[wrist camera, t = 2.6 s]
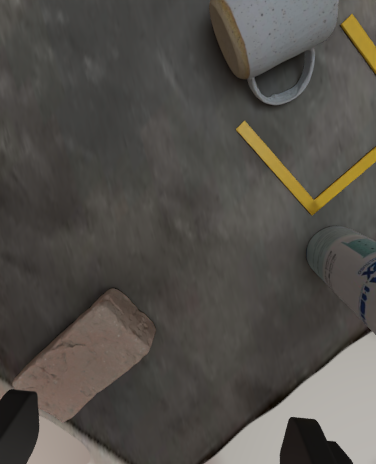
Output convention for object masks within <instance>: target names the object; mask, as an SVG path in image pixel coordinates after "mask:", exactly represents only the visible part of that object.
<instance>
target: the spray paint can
mask: <svg viewBox="0 0 376 464" xmlns="http://www.w3.org/2000/svg"><path fill="white" fill-rule="evenodd" d="M306 257H307V261H308V263H309V265H310V267H311V268H312V270H313V271H314V272H315V273H316V274H317V275H318V276H319V277H320V278H321V279H322V280H323V281H324V282H325V283H326V284H327V285H328V286H329V287H330V288H331V289H332V290H333V291H334V292H335V293H336V294H337V295H338V296H339V297H340V299H341V300H342V301H343V302H344V303H345V304H346V305H347V306H348V307H349V308H350V309H351V310H352V311H353V312H354V313H355V314H356V315H357V316H358V317H359V318H360V319H361V320H362V321H363V322H364V323H365V324H366V325H367V326H368V327H369V328H370V329H371V330H372V331H373V332H374V333H375V335H376V241H374V240H372V239H370V238H368V237H366V236H364V235H362V234H360V233H358V232H356V231H354V230H351V229H349V228H347V227H342V226H331V227H327V228H324V229H322V230H320V231H319V232H317V233H316V234H315V235H314V236H313V237H312V239H311V240H310V242H309V244H308V246H307V250H306Z"/></svg>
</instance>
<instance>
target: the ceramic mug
mask: <svg viewBox="0 0 376 464" xmlns="http://www.w3.org/2000/svg"><path fill="white" fill-rule="evenodd" d="M338 4H339V1H338V0H210V5H209V10H210V17H211V22H212V25H213V29H214V32H215V35H216V38H217V41H218V44H219V46H220V49H221V51H222V53H223V56H224V58H225V60H226V62H227V64H228V66H229V67H230V69H231V70H232V72H233V73H234V75H235V76H237V77H238V78H241V79H247V80H248V84H249V86H250V88H251V90H252V91H253V93H254V95H255V96H256V97H257V98H258V99H260V100H261V101H262V102H264V103H266V104H269V105H281V104H284V103H287V102H289V101H292V100H293V99H295V98H296V97H298V96H299V95H300V94H301V93H302V92H303V91H304V89H305V88H306V86H307V85H308V83H309V81H310V78H311V75H312V72H313V68H314V61H315V47H316V45H318V44H320V43H322V42H324V41H326V40H327V39H328V38H329V37H330V36H331V34H332V33H333V30H334V28H335V25H336V21H337V15H338ZM304 51H305V61H304V68H303V73H302V75H301V77H300V79H299V81H298V83H297V84H296V85H295V86H294V87H293V88H291V89H289V90H287V91H284V92H282V93H279V94H273V95H271V96H270V97H265V96H264V95H262V94H261V93H260V91H259V89H258V87H257V85H256V82H255V76H258V75H260V74H262V73H264V72H266V71H268V70H270V69H271V68H273V67H275V66H277V65H278V64H280V63H282V62H284V61H286V60H288V59H290V58H293V57H295V56H297V55H299V54H300V53H302V52H304Z"/></svg>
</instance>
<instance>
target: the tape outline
mask: <svg viewBox="0 0 376 464" xmlns="http://www.w3.org/2000/svg"><path fill="white" fill-rule="evenodd" d="M340 26H341V27H342V29H343V30H344V31H345V33H346V34H347V35H348V37H349V38H350V40H351V41H352V42H353V44H354V45H355V46H356V48H357V49H358V51H359V52H360V53H361V55H362V56H363V57H364V59H365V60H366V62H367V63H368V64H369V66H370V67H371V68H372V70H373V71H374V73H375V74H376V47H375V45H374V44H373V42H372V41H371V39H370V38H369V37H368V35H367V34H366V32H365V31H364V30H363V28H362V27H361V25H360V24H359V23H358V21H357V20H356V18H355V17H354V16H353V14H351V15H350V16H349V17H348V18H347V19H346V20H345V21H344V22H343V23H342V24H341V25H340ZM236 131H237V132H238V133H239V134H240V135H241V136H242V137H243V138H244V140H245V141H246V142H247V143H248V144H249V145H250V146H251V147H252V149H253V150H254V151H255V152H256V153H257V154H258V155H259V157H260V158H261V159H262V160H263V161H264V162H265V163H266V164H267V166H268V167H269V168H270V169H271V170H272V171H273V172H274V173H275V175H276V176H277V177H278V178H279V179H280V180H281V181H282V183H283V184H284V185H285V186H286V187H287V188H288V189H289V190H290V192H291V193H292V194H293V195H294V196H295V197H296V198H297V199H298V201H299V202H300V203H301V204H302V205H303V206H304V207H305V209H306V210H307V211H308V212H309V213H310V214H311V215H313V214H315V213H316V212H317V211H318V210H319V209H320V208H322V207H323V206H324V205H325V204H326V203H328V202H329V201H330V200H331V199H332V198H333V197H335V196H336V195H337V194H338V193H339V192H340V191H342V190H343V189H344V188H345V187H346V186H348V185H349V184H350V183H351V182H352V181H353V180H355V179H356V178H357V177H358V176H359V175H360V174H362V173H363V172H364V171H365V170H366V169H368V168H369V167H370V166H371V165H372V164H373V163H375V162H376V146H375V147H374V148H373V149H372V150H371V151H370V152H369V153H367V154H366V155H365V156H364V157H363V158H362V159H360V160H359V161H358V162H357V163H356V164H355V165H353V166H352V167H351V168H350V169H349V170H348V171H346V172H345V173H344V174H343V175H342V176H341V177H340V178H338V179H337V180H336V181H335V182H334V183H333V184H331V185H330V186H329V187H328V188H327V189H326V190H324V191H323V192H322V193H321V194H320V195H319V196H317V197H316V198H315V199H314V200H313V199H312V197H311V196H310V195H309V194H308V193H307V192H306V190H305V189H304V188H303V187H302V186H301V185H300V184H299V182H298V181H297V180H296V179H295V178H294V177H293V176H292V174H291V173H290V172H289V171H288V170H287V169H286V168H285V166H284V165H283V164H282V163H281V162H280V161H279V159H278V158H277V157H276V156H275V155H274V154H273V153H272V151H271V150H270V149H269V148H268V147H267V146H266V145H265V143H264V142H263V141H262V140H261V139H260V138H259V136H258V135H257V134H256V133H255V132H254V131H253V130H252V128H251V127H250V126H249V125H248V124H247V123H246V122H245V121H244V122H243V123H242V124H241V125H240V126H239V127H238V128H237V129H236Z"/></svg>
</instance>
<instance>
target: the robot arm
mask: <svg viewBox="0 0 376 464" xmlns="http://www.w3.org/2000/svg"><path fill="white" fill-rule="evenodd" d="M38 433H39V413H38V396H37V393H36V392H35V391H25V390H15V389H11V390H9V391H8V392H6V394H5V395H4V396H3V397H2V399H1V400H0V464H26V463H27V461H28V459H29V457H30V456H31V454H32V452H33V449H34V447H35V444H36V441H37V438H38ZM280 464H353V462H352V461H351V459H350V458H349V457H348V456H347V455H346V453H345V452H344V451H343V450H342V449H341V448H340V446H339V445H338V444H337V443H336V442H333V441H327V440H326V438H325V436H324V433H323V431H322V429H321V427H320V425H319V423H318V422H317V421H316V420H315V419H306V418H296V417H291V418H290V419H289V421H288V424H287V428H286V432H285V436H284V440H283V444H282V447H281V451H280Z"/></svg>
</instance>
